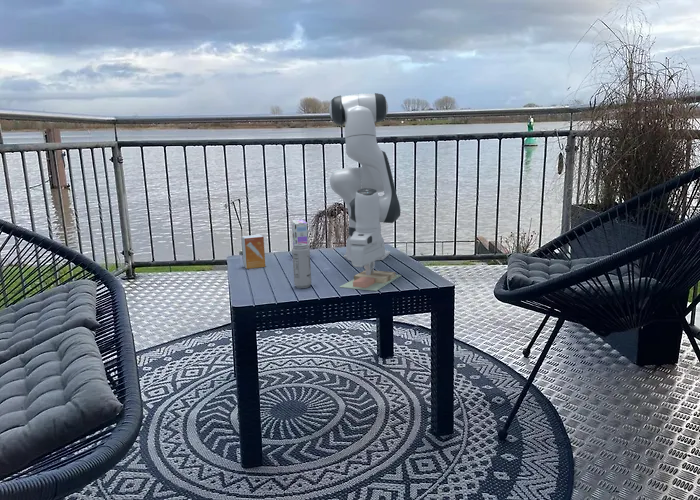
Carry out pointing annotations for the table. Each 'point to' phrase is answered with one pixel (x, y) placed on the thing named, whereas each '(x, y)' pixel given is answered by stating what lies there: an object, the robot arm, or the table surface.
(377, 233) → the robot arm
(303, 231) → the candy box
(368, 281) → the tile
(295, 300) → the table surface
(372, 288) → the mat
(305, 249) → the energy drink can
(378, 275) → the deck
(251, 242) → the small box
